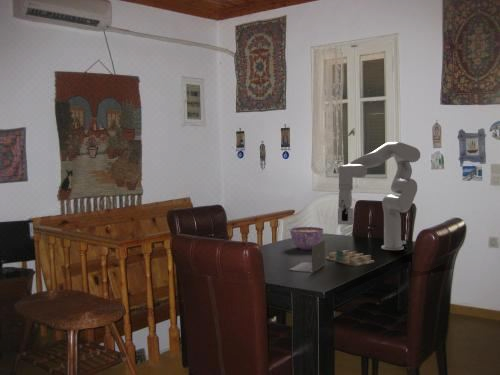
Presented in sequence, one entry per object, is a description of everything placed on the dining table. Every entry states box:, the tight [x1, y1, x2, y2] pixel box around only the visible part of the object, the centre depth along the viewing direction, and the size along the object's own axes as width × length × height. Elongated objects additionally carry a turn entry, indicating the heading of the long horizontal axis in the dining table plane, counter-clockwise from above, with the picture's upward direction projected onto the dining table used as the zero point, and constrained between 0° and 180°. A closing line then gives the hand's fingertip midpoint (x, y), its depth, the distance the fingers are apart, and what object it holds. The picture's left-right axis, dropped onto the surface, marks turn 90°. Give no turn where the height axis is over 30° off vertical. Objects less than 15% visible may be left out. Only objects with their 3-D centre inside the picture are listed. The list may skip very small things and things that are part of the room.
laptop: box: [288, 240, 326, 274], centre depth 254 cm, size 18×12×13 cm
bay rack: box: [325, 249, 375, 267], centre depth 268 cm, size 14×22×6 cm, turn 32°
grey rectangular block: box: [337, 207, 355, 226], centre depth 281 cm, size 3×8×9 cm, turn 61°
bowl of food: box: [289, 226, 324, 251], centre depth 303 cm, size 20×20×12 cm
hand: (345, 220), depth 281 cm, fingers closed on grey rectangular block, 3 cm apart
